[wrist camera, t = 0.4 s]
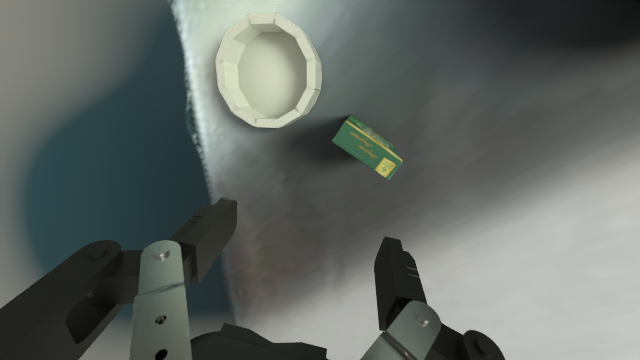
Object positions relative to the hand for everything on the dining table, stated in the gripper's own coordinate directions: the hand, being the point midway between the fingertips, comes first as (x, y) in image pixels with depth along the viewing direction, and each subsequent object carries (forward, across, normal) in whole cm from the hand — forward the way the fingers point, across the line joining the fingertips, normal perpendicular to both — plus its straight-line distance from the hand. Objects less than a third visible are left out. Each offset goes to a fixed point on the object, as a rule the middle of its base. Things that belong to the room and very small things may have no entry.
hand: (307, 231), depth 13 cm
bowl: (+30, +11, -4) cm, 32 cm away
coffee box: (+28, -5, +2) cm, 29 cm away
